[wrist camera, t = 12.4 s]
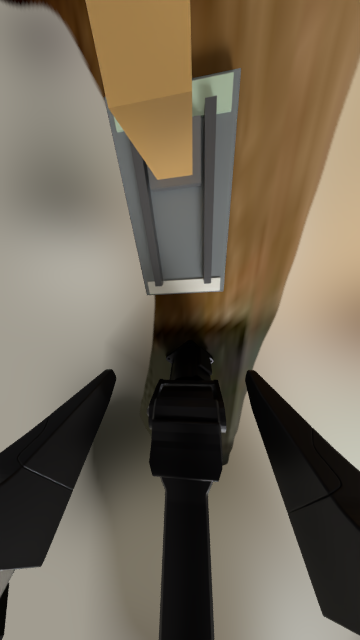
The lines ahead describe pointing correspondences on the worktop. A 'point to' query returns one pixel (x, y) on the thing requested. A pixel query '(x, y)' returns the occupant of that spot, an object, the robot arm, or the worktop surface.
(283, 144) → the worktop surface
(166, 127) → the handle
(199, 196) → the grey rail base
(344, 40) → the worktop surface
